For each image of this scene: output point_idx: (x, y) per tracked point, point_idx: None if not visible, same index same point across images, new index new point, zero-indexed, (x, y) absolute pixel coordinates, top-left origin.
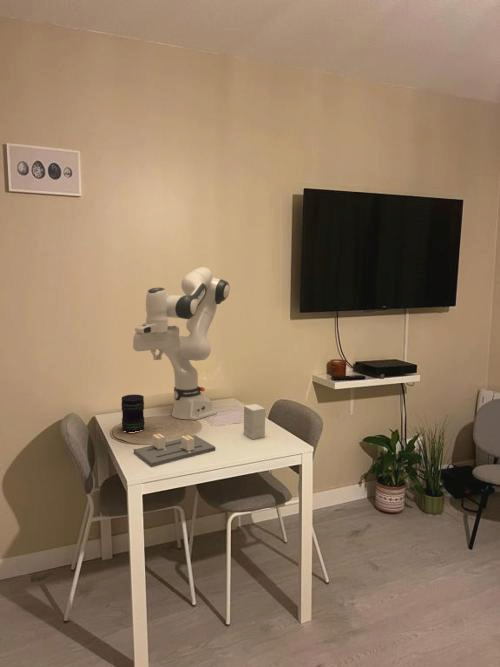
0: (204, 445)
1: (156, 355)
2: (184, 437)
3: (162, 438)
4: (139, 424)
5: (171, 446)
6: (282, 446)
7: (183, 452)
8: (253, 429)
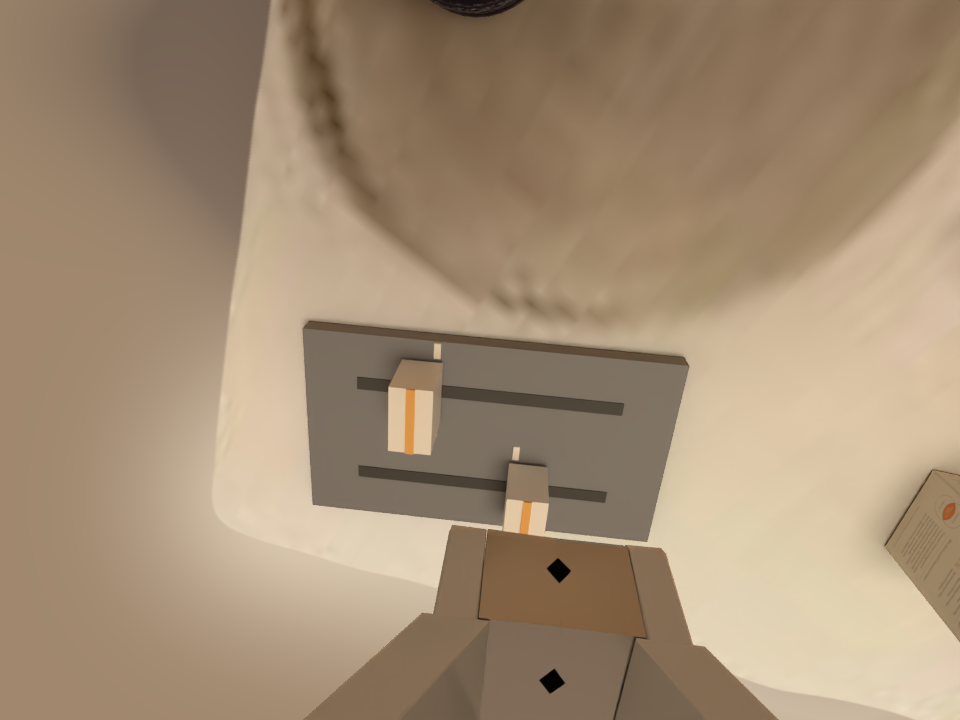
0: (619, 501)
1: (529, 660)
2: (511, 519)
3: (414, 451)
4: (481, 10)
5: (483, 414)
6: (896, 664)
7: (486, 503)
8: (920, 590)
